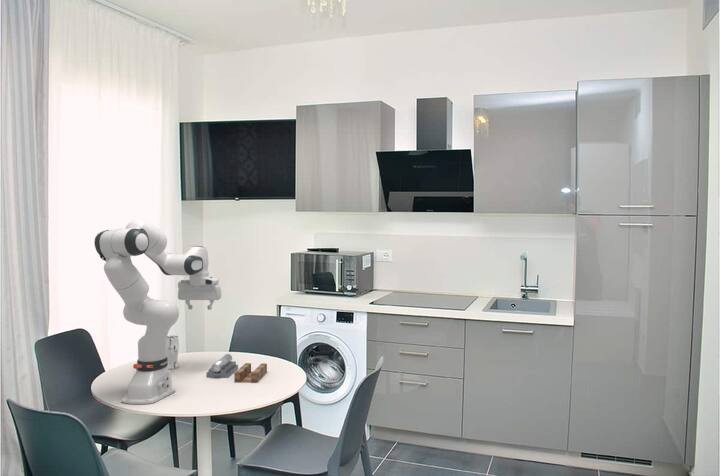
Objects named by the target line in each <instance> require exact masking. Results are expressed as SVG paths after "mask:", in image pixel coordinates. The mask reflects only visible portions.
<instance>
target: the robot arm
mask: <svg viewBox="0 0 720 476" xmlns="http://www.w3.org/2000/svg"><path fill="white" fill-rule="evenodd" d="M167 244H168V238H167V236H166V234H164V232H163V231H162V230H160V229H159V228H157V227H156V226H155V225H153V224H151V223H149V222H148V221H145V220H143V219H139V218H137V219H133V220H131V221H129V223H128V224H126V226H125V228H113V229H106V230H102V231H100V232H99V233H97V235H96V236H95V237H94V248H95V250H96V253H97V255H99V257H100V259H101V260H102V261H104V266H103V271H104V273H105V276H106V277H107V279H108V281H109V283H110V284H111V286H112V287H113V289H114V290H115V292H117V294H118V295H119V297H120V298H121V299H122V301H123V304H124V307H123V310H122V312H123V313H122V315H123V318H124V320H126V321H127V322H130V323H132V324H134V325H138V326H146V329H145V333H144V335H142V336H141V337H140V338H139V339H138V342H137V357H138V358H137V361H136V363H133V366H132V368H133V370H135V372H134V374H133V376H132V378H131V380H130V382H129V383H128V385H127V394H125V396H123V397H122V399H121V401H120V402H121V403H122V402H123V404H129V405H149V404H154V403H156V402H158V401H160V400H162V399H164V398H166V397H168V396H170V395H172V394H174V393H176V389H175V388H174V387H173V381H172V372H171V371H170V369H168V368H167V365H168V359H167V356H166V340H167V336H169V335H168V334H169V332H170V330H171V328H172V326H174V325H175V324H176V322H177V321H178V320H179V316H180V311H179V308H178V306H177V304H175V302H174V303H173V302H171V301H169V300H166V299H165V300H164V299H162V300H161V299H154V298H151V297H150V296H148V294H149V292H150V291H149V290H150V286H149V284H148V282H147V281H146V279H145V278H144V277H143V275H142V273H140V271H139V269H137V267H136V266H135V265H134V263H133V262H132V258H131V257H138V256H141V255H143V254H144V255H145V256H146V257H147V258H148V259H150V260H151V261H152V262H154V263H155V264H156V265H157V266H158V268H159V269H160V271H161V272H162V274H163V275H165V276H188V277H189V279H187V280H186V279H181V280H179V282H178V283H177V288H178V289H177V291H178V292H177V299H178V300H180V301H185V304H186V306H187V309H188V310H193V309H194V308H193V305H192V304H191V303H190V302H191V301H209V303H210V304H208V305H207V306H206V307H207V309H206V310H208V311H209V310H212V309H213V307H212V306H213V304H214V303H215V301H219V300H221V298H222V289H221V285H220V284H219V282H220V280H219V278H217V277H213V276H211V275H209V274H210V273H209V272H210V271H209V269H208V268H209V254H208V250H207V247H204V246H202V245H201V246H200V245H192V246H191V245H190V247H189V250H188V251H187V252H185V253H184V254H183V253H180V254H179V253H178V254H177V253H166V252H165V250H166V248H167Z"/></svg>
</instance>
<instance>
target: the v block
mask: <svg viewBox="0 0 720 476" xmlns="http://www.w3.org/2000/svg"><path fill="white" fill-rule="evenodd" d="M237 370H239V364H237V362H236V361H235V360H234V361H231V362H229V363H228V364H227V365H226V366H225V367H223V368H222V369H221V370H220V371H219V372H214V371H213V370H212V367H210V368H209V369H208V371H207V372H206V378H207V379H208V378H210V379H211V378H212V379H213V378H215V379H216V378H217V379H229V378H230V377H231V376H232V375H234V373H235V372H236V371H237Z"/></svg>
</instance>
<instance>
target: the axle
mask: <svg viewBox="0 0 720 476" xmlns="http://www.w3.org/2000/svg"><path fill="white" fill-rule="evenodd" d="M232 360H233V355H232V354H230V353H226V354H225V355H223V356H221V358H219V359H218V360H217V361H215V362H214V363H212V365H211V368H212V370H213V371H214V372H219V371H220V370H221V369H222V368H223V367H225V366H226V365H227V364H228V363H230V362H231V361H232Z"/></svg>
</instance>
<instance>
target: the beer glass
mask: <svg viewBox="0 0 720 476" xmlns="http://www.w3.org/2000/svg"><path fill="white" fill-rule="evenodd" d="M179 341H180V340H179V336H178V335H174V334H172V335H167V340H166V356H167V359H168V365H167V368H168V370H175V369H178V368H179V361H178V357H179V350H180V342H179Z"/></svg>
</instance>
